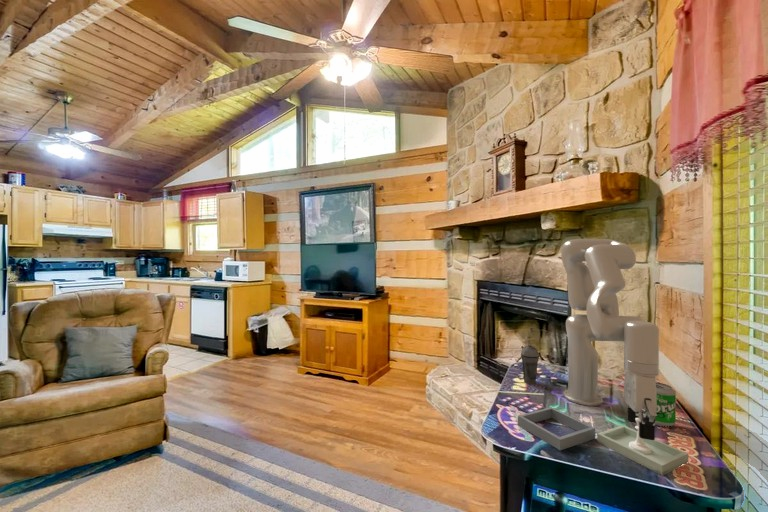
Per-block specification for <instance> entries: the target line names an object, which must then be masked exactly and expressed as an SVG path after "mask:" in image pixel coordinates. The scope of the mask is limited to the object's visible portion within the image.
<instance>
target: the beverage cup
mask: <svg viewBox="0 0 768 512" xmlns="http://www.w3.org/2000/svg"><path fill="white" fill-rule="evenodd" d="M528 336H529V335H528V334H526V336H525V337H526V344H527V345H525V346H523V347H522V348H521V352H520V357H521V363H522V375H523V382H524V384H528V385H535V384H536V382H537V381H536V380H537V375H538V374H537V373H538V365H539V364H538V363H539V359H540V354H539V351H538V349H537V348H536V347H535V346H533V345H531V344H530V345H529V343H530V342H529V337H528Z"/></svg>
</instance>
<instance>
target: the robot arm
mask: <svg viewBox="0 0 768 512" xmlns="http://www.w3.org/2000/svg"><path fill="white" fill-rule="evenodd" d="M636 261H637V256H636V253H635V251H634V249H633V248H632V247H631V246H630V245H628V244H627V243H624V242H620V241H617V240H615V239H610V238H576V239H569V240H567V241H565V242H564V243H563V245H562V246H561V262H562V264H563V267H564V269H565V274H566V283H567V296H568V303H569V306H570V308H571V309H572V310H575V311H583V312H586V314H584V313H583V314H572V315H570V316H568V317H567V318H566V320H565V330H566V336H567V345H568V347H567V348H568V350H567V351H568V354H567V355H568V357H567V359H568V361H567V363H568V365H567V366H568V367H567V368H568V371H567V373H568V374H567V375H568V376H567V377H568V379H567V383H568V384H567V385H568V387H567V389H565V390H563V396H564V398H565V399H566V400H568V401H570V402H572V403H576V404H579V405H581V406H582V405H583V406H588V407H589V406H590V407H591V406H592V407H594V406H596V407H597V406H601V405H603V403H604V402H603V398H602V397H601V396H600V395H599V393H601V392H603V391H605V388H604V386H603V385H599V384H598V383H599V381H598V380H599V379H598V378H599V375H598V374H599V373H598V372H599V366H598V365H599V363H598V362H599V361H598V360H599V355H598V354H599V353H598V352H597V350H596V348H595V347H594V345H593V344H592V343H591V342H594V341H595V342H623V370H624V372H625V373H624V382H623V385H624V386H623V400H624V401H625V403H626V404H627V422H629V423H634V424H637V423H636V420H635V418H639V416H636V413H637V414H640V420H641V422H639V437H640V438H643V439H649V440H655V439H656V435H655V432H656V431H655V430H656V428H655V427H656V425H655V418H656V410H657V394H656V382H657V381H656V378H657V377H659V374H660V373H659V372H660V371H659V362H660V361H659V359H660V357H659V356H660V355H659V353H660V352H659V351H660V350H659V349H660V348H659V347H660V346H659V345H660V338H659V337H660V330H659V326H658V325H657V324H655V323H653V322H650V321H646V320H645V319H643V318H641V317H639V316H634V315H620V310H619V299H618V296H617V294H618V293H620V292H621V291H623V290H624V289H625V287H626V281H625V278H624V276H623V274H622V273H623V272H622V270H630V269H632V268H633V267H634V266H635V264H636ZM584 262H585V263H586V264H585V263H584ZM645 410H647V411H645ZM645 415H648V416H645Z"/></svg>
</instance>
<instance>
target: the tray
mask: <svg viewBox="0 0 768 512" xmlns="http://www.w3.org/2000/svg"><path fill="white" fill-rule="evenodd" d="M637 431H638V430H636V429H633V428H631V427H629V426H626V425H624V424H622V425H618V426H615V427H612V428H609V429H606V430H604V431H601V432H597V433H596V442H597V443H598V444H600V445H602V446H603V447H606V448H607V449H610V450H612V451H613V452H616V453H617V454H619V455H622V457H625V458H627V459H629V460H631V461H632V462H635V463H637V464H638V465H640V464H641V466H642V467H644V468H647V469H649V470H650V471H652V472H654V473H656V474H658V475H660V476H664V475H667V474H668V473H671V472H673V471H675V470H677V469H679V468H680V467H679V466H681V465H682V464H685V463H687V462H688V463H689V452H686V451H683V450H681V449H679V448H676V447H674V446H672V445H670V444H668V443H665V442H662V441H660V440H658V439H656V438H655V440H649V439H643V441H644V443H645V444H646V445H648V446H649V447H650V448H651V453H650V454H643V453H640V452H638V451H636V450H634V449H632V448H630V447H629V442H631V441H635V440H636V438H637ZM678 467H679V468H678ZM681 467H682V466H681ZM676 468H677V469H676ZM674 469H675V470H674Z"/></svg>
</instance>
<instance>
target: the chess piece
mask: <svg viewBox="0 0 768 512" xmlns="http://www.w3.org/2000/svg"><path fill="white" fill-rule="evenodd" d="M636 416H639V418H635V420H636V423H635V424H636V425H635V426H634V428H635V430H636V431H637V438H636V440H635V441H631V442H629V447H630V448H632V449H634V450H636V451H638V452H640V453H643V454H650V453H651V448H650V447H649V446H648V445H646V444H645V443H644V441H643V438H640V437H639V422H641V420H640V414H637V413H636Z"/></svg>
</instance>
